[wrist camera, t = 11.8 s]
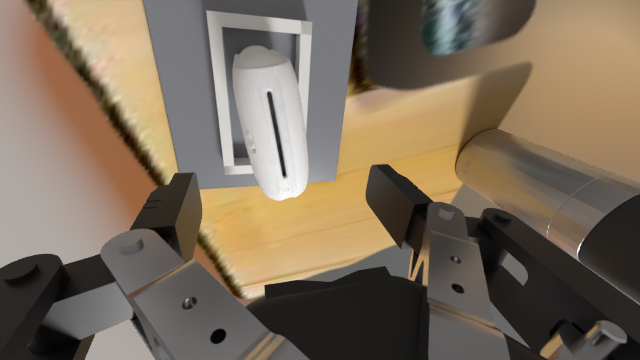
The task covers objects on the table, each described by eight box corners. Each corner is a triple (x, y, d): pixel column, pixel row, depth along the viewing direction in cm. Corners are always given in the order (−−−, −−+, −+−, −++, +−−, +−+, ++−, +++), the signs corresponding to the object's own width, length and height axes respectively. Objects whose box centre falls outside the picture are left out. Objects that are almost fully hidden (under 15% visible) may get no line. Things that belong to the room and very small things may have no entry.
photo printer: (291, 143, 29) (320, 205, 19) (254, 150, 28) (261, 218, 18) (276, 42, 24) (303, 50, 14) (229, 47, 23) (220, 60, 13)
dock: (354, -6, 24) (367, -10, 22) (333, 177, 34) (340, 188, 32) (139, -37, 20) (124, -47, 17) (184, 185, 29) (179, 200, 27)
